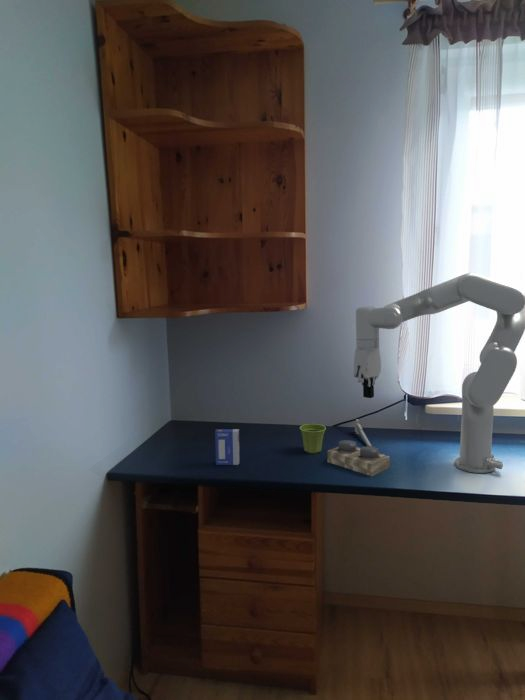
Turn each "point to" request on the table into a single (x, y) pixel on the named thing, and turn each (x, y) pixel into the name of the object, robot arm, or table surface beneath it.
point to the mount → (358, 461)
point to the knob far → (347, 446)
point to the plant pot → (312, 437)
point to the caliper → (361, 432)
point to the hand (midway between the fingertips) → (368, 397)
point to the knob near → (369, 453)
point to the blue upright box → (227, 446)
